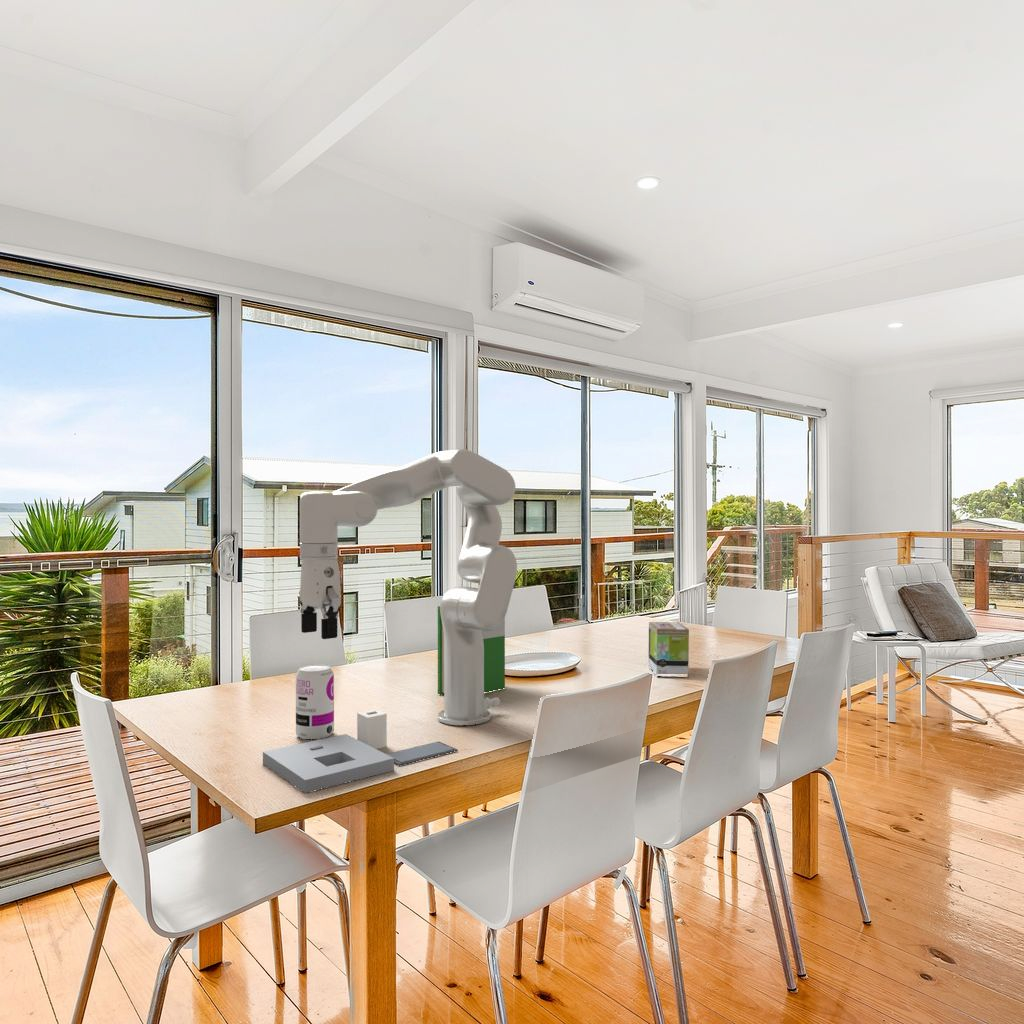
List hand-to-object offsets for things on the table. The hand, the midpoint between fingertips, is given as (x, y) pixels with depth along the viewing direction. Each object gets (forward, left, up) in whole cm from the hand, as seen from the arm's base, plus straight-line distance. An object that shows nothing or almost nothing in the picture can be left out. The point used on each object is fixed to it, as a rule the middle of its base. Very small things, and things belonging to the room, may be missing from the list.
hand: (319, 635), depth 152 cm
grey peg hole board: (+2, +8, -24) cm, 26 cm away
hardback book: (-55, -22, -25) cm, 64 cm away
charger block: (-11, +2, -24) cm, 27 cm away
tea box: (-116, -3, -25) cm, 118 cm away
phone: (-16, +13, -25) cm, 33 cm away
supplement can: (-5, -13, -25) cm, 28 cm away
